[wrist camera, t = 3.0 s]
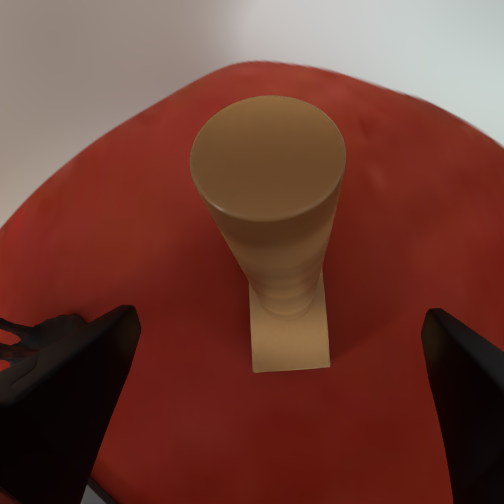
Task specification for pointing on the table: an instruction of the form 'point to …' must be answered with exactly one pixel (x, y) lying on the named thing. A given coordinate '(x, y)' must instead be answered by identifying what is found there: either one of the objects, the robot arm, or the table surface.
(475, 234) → the table surface
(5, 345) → the statue
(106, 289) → the table surface
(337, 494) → the table surface
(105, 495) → the board
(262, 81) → the table surface
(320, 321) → the tan wooden tall post
